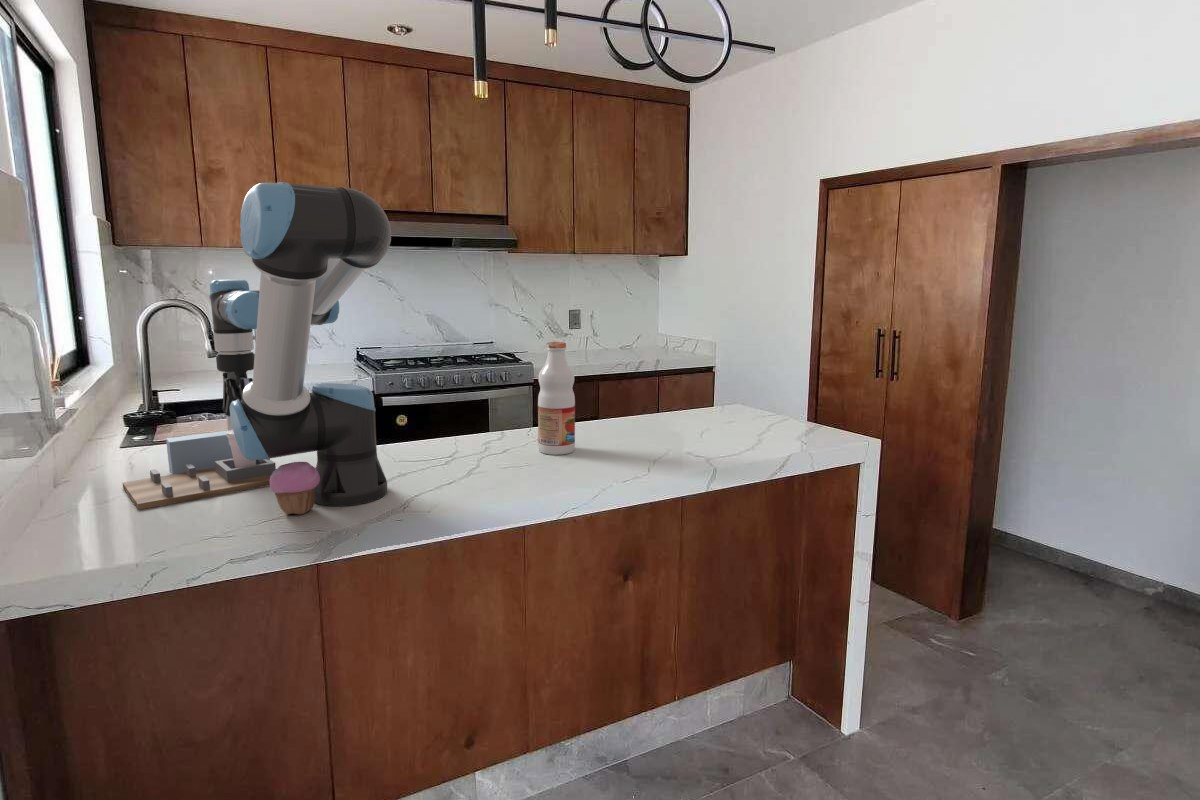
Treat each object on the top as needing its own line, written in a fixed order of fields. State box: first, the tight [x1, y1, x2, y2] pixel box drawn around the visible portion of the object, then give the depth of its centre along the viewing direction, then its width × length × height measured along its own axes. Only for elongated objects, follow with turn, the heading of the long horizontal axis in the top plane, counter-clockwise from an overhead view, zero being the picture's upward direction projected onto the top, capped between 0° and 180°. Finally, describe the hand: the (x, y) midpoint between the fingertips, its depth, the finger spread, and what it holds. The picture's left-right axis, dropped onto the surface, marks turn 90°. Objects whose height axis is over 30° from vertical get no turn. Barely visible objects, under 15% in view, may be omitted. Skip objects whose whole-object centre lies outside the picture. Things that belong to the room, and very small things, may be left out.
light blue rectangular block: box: [165, 430, 233, 475], centre depth 167 cm, size 14×4×8 cm, turn 129°
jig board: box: [121, 468, 271, 511], centre depth 156 cm, size 18×28×1 cm, turn 131°
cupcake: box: [269, 461, 320, 515], centre depth 138 cm, size 9×9×10 cm
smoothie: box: [226, 429, 256, 468], centre depth 159 cm, size 6×6×14 cm
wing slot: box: [149, 464, 210, 497], centre depth 152 cm, size 16×8×2 cm, turn 41°
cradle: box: [215, 458, 277, 482], centre depth 160 cm, size 10×10×2 cm
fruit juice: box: [537, 341, 576, 456], centre depth 184 cm, size 9×9×28 cm
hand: (243, 449), depth 160 cm, fingers open, 12 cm apart
